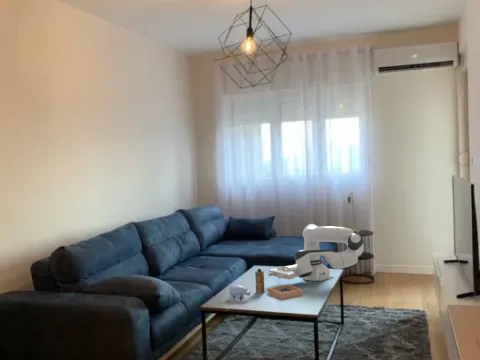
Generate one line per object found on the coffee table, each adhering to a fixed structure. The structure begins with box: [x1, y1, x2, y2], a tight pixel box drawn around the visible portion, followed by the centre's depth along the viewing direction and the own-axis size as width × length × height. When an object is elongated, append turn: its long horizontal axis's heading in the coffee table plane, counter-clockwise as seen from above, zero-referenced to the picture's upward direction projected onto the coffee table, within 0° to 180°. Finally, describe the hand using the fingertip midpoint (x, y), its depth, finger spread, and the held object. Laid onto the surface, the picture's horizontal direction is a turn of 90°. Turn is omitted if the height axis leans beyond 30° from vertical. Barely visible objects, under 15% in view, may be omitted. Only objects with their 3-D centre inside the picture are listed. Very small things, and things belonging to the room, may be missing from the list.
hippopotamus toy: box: [228, 283, 251, 302], centre depth 307 cm, size 11×15×10 cm
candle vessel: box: [267, 284, 303, 300], centre depth 314 cm, size 16×16×4 cm
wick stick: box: [254, 268, 265, 294], centre depth 320 cm, size 4×4×16 cm
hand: (273, 276), depth 327 cm, fingers open, 8 cm apart
